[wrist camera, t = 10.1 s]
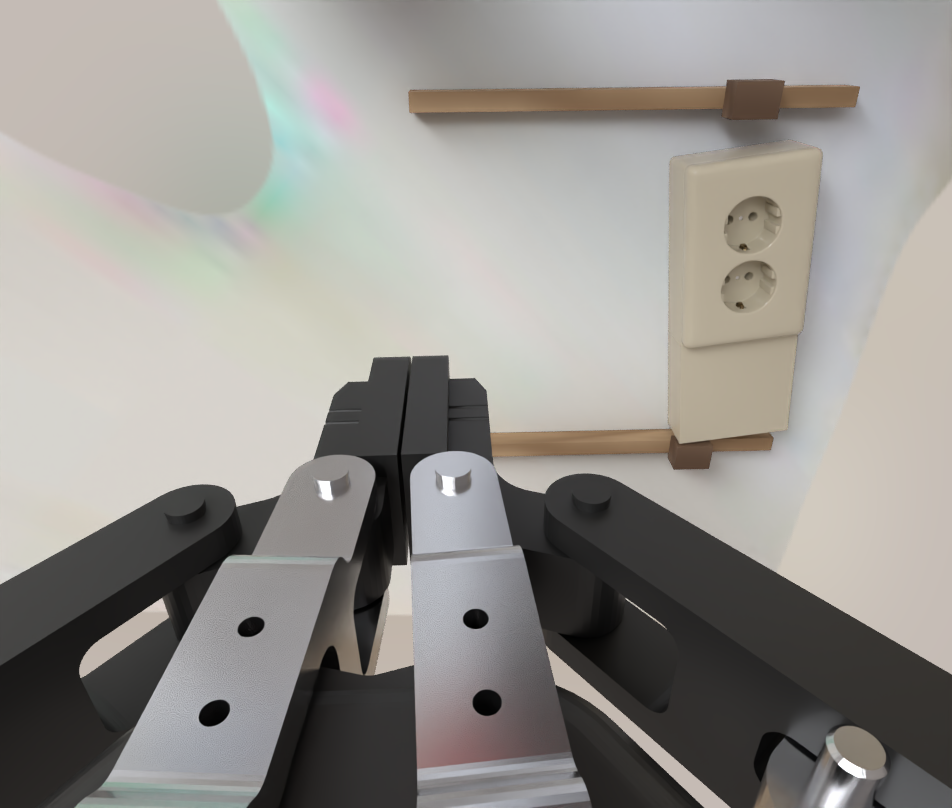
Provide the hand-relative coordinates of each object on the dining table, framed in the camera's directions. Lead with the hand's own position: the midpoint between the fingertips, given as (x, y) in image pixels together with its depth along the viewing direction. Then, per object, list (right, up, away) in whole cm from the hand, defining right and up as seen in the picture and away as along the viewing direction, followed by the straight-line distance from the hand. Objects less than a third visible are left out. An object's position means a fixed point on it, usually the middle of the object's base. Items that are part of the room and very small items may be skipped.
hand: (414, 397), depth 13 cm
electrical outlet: (+17, +7, +29) cm, 35 cm away
